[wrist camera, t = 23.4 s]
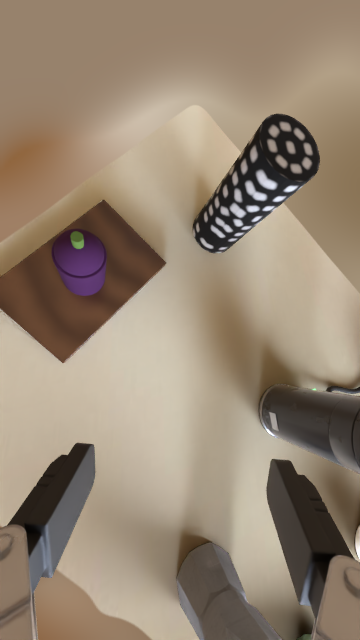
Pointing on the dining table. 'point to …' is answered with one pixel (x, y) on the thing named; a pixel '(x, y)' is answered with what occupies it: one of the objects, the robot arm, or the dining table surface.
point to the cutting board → (71, 309)
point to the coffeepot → (218, 598)
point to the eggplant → (80, 261)
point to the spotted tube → (258, 182)
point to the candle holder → (357, 541)
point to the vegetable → (305, 637)
